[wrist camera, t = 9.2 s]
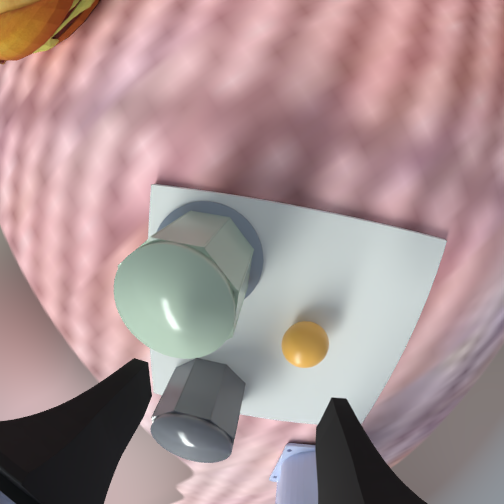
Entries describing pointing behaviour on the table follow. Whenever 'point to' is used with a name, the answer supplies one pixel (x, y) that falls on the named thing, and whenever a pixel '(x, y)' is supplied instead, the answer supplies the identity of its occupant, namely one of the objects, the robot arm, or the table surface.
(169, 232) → the green acorn nut
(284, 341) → the marble
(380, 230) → the mat
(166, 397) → the grey acorn nut
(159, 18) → the table surface
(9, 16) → the cheeseburger
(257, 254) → the coaster
